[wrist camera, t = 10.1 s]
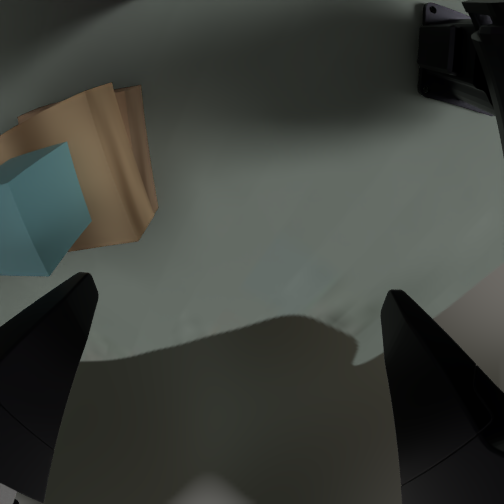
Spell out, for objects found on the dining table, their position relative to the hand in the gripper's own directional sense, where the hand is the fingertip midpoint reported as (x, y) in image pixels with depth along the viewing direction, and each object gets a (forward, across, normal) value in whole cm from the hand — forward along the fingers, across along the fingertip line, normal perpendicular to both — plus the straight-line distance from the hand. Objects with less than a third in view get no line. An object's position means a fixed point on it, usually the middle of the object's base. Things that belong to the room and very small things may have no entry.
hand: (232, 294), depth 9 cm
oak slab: (+11, +12, 0) cm, 16 cm away
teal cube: (+8, +12, 0) cm, 14 cm away
